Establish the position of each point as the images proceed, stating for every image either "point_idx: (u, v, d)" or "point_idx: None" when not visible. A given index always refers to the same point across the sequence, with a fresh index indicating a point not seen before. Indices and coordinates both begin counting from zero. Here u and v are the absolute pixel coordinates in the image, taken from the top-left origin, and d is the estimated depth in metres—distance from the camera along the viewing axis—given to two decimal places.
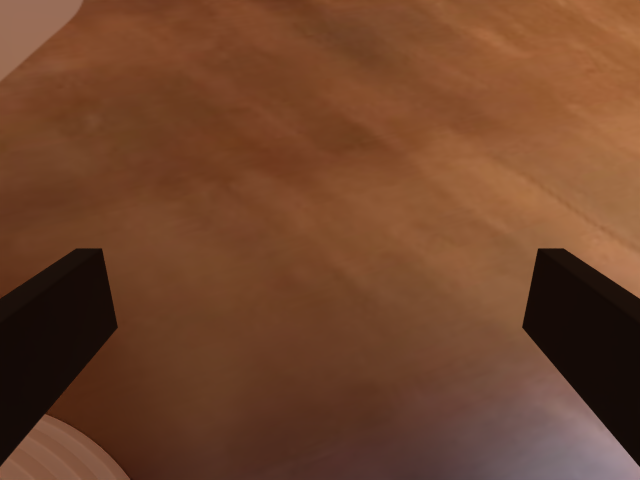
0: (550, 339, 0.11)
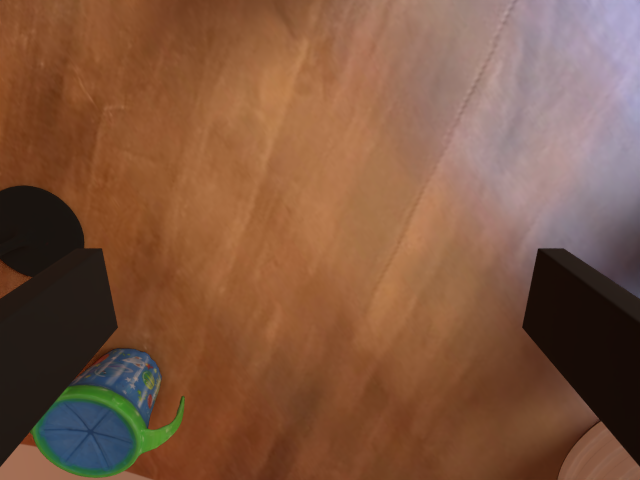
0: (550, 339, 0.11)
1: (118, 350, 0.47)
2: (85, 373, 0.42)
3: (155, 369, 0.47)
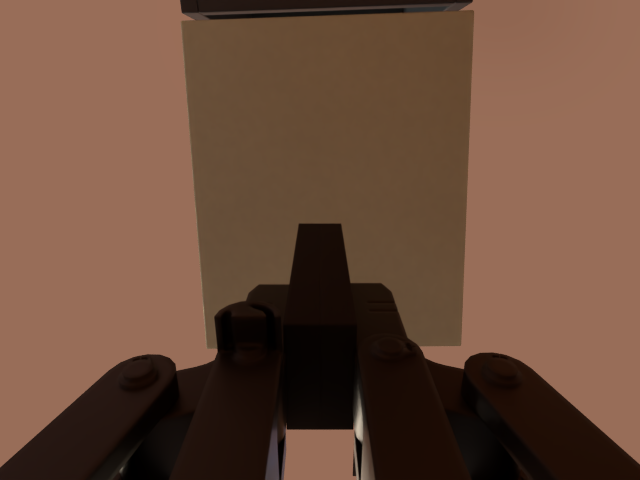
0: None
1: None
2: None
3: None
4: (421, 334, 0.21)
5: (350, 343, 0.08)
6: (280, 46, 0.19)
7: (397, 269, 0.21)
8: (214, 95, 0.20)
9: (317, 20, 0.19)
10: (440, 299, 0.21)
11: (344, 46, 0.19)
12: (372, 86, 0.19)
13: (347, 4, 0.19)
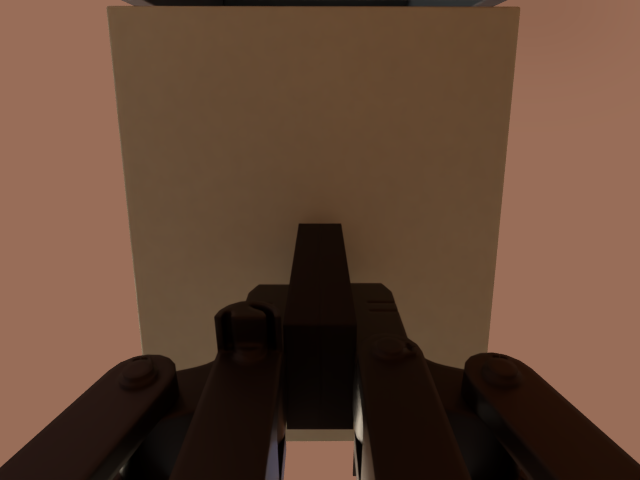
0: None
1: None
2: None
3: None
4: None
5: (350, 343, 0.08)
6: (249, 48, 0.14)
7: None
8: (156, 114, 0.14)
9: (302, 13, 0.13)
10: None
11: (339, 50, 0.14)
12: (377, 108, 0.14)
13: None
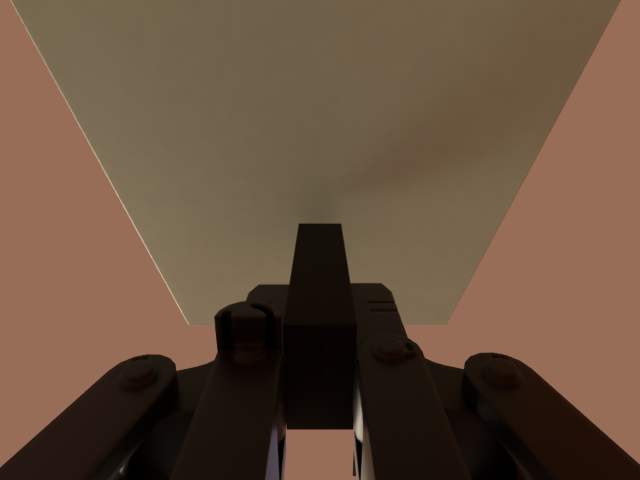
0: None
1: None
2: None
3: None
4: (409, 319, 0.21)
5: (350, 343, 0.08)
6: (224, 32, 0.10)
7: (394, 282, 0.18)
8: (119, 111, 0.11)
9: None
10: (436, 300, 0.19)
11: (351, 36, 0.10)
12: (396, 105, 0.11)
13: None
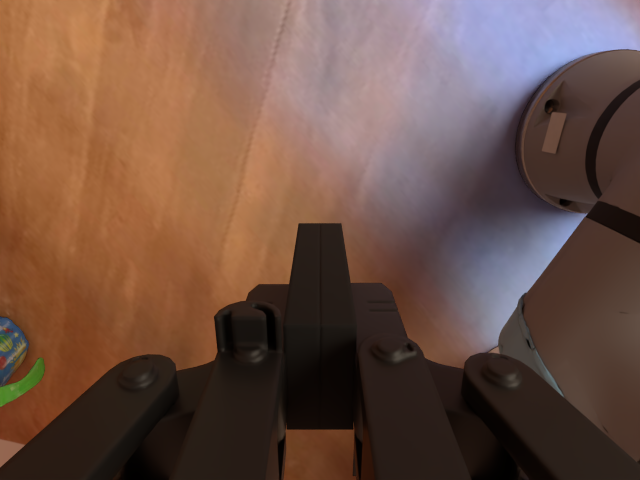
0: None
1: None
2: None
3: (17, 334, 0.47)
4: None
5: (350, 343, 0.08)
6: None
7: None
8: None
9: None
10: None
11: None
12: None
13: None
